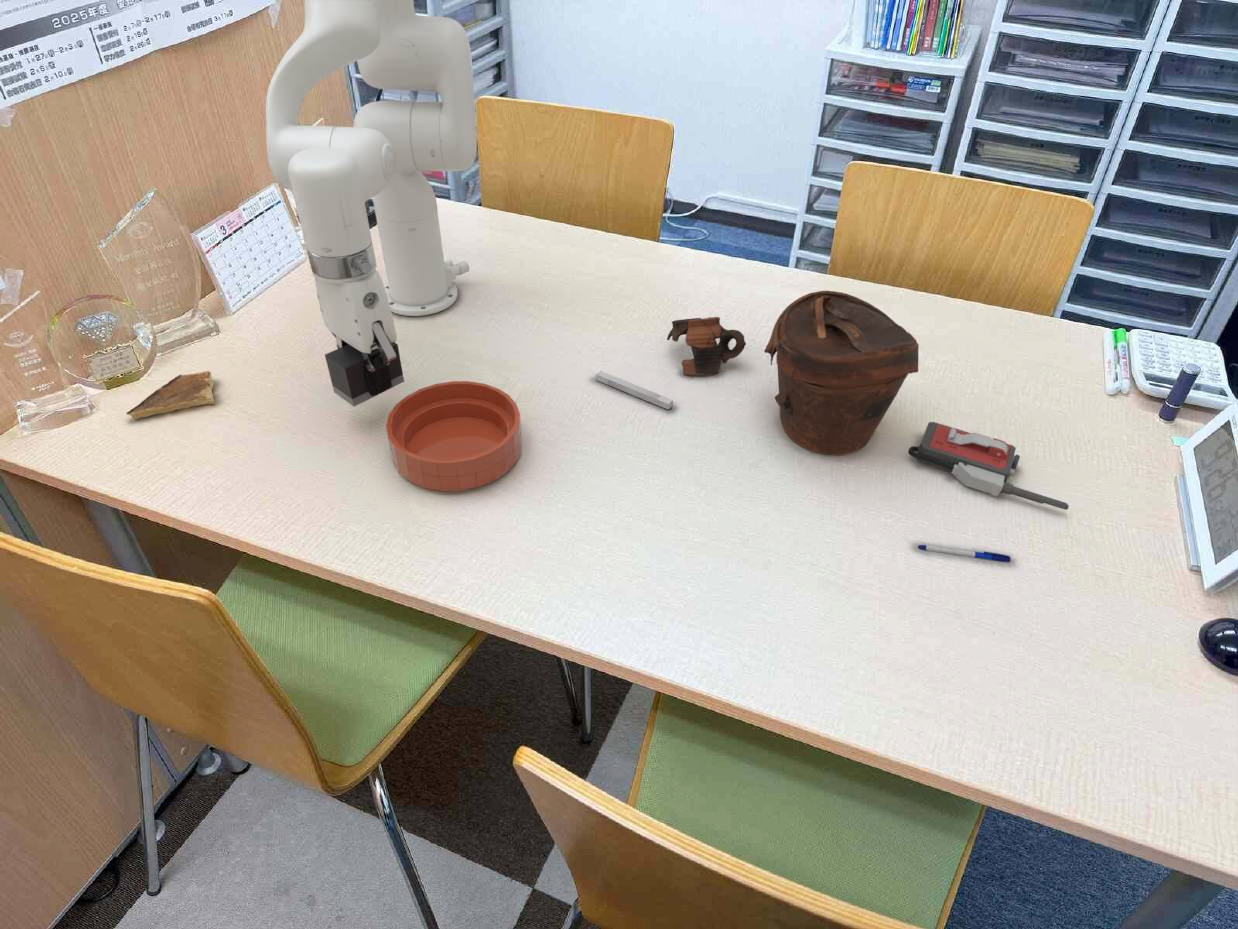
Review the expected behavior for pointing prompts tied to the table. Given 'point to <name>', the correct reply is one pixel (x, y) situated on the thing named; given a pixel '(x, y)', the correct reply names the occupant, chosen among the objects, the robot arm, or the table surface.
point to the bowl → (454, 435)
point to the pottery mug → (706, 344)
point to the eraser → (357, 373)
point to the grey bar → (635, 390)
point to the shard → (177, 395)
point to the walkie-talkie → (974, 461)
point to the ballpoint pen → (967, 553)
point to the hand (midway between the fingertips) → (368, 381)
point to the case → (837, 369)
